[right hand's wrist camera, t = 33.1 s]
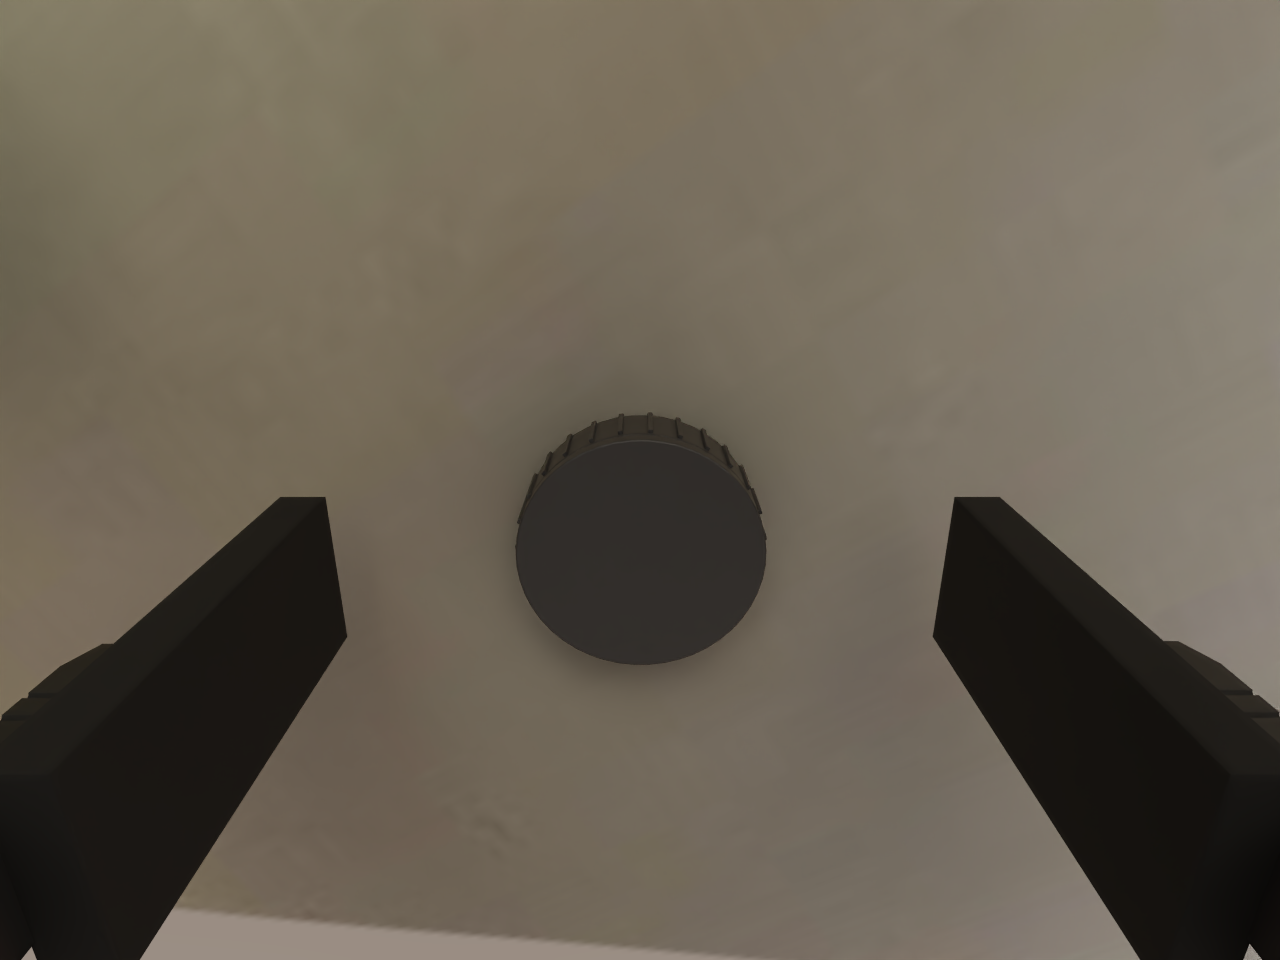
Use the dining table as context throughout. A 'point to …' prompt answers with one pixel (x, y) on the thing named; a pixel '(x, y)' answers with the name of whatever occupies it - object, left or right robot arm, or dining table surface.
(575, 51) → the dining table surface
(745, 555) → the cap
